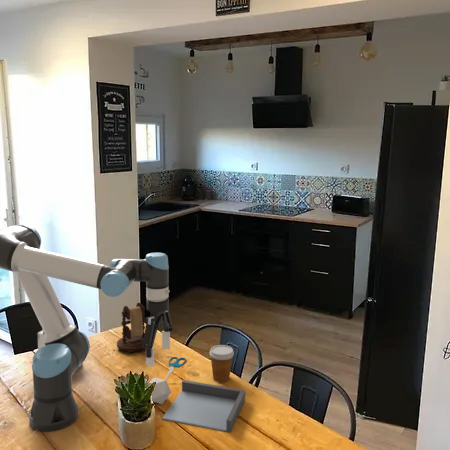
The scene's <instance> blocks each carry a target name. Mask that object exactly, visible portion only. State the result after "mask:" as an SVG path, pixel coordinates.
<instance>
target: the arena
mask: <svg viewBox="0 0 450 450" xmlns="http://www.w3.org/2000/svg"><path fill="white" fill-rule="evenodd" d="M245 401H246V390H245V389H240V388H236V387H235V388H234V387H228V386H223V385H217V384H211V383H203V382H197V381H194V380H193V381H191V380H186V379H183V380H182V381H181V391H180V393H179V394H178V395H177V397H175V400H173V402H172V404H171V405H170V406H169V408H168V409H167V411H166V412H165V414H164V415H163V416H162V418H161V419H162V421H163V420H164V421H170V422H174V423H179V424H180V423H181V424H184V425H190V426H196V427H201V428H206V429H211V430H216V431H222V432H226V433H232V431H233V429H234V427H235V425H236V421H237V419H238V417H239V415H240V413H241V410H242V408H243V406H244V404H245Z"/></svg>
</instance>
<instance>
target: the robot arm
mask: <svg viewBox="0 0 450 450" xmlns="http://www.w3.org/2000/svg"><path fill="white" fill-rule="evenodd" d="M41 244H42V238H41V235H40V233H39V232H38V230H36V228H34V227H32V226H31V225H29V224H25V223H22V224H20V223H19V224H14V225H10V226H8V227H5V228H2V229H0V269H2V270H4V271H8V272H9V271H10V272H13V273H15V274H16V276H17V278H18V280H19V283H20V284H21V286H22V288H23V291H24V293H25V294H26V297H27V299H28V302H29V304H30V305H31V307H32V309H33V311H34V313H35V316H36V318H37V320H38V322H39V324H40V326H41V329H42V330H44V333H45V335H46V336H45V339H44V344H45V346H46V347H42V348H40V349H39V350H38V349H37V350H36V351H35V353H34V354H33V357H32V362H31V369H32V380H33V402H32V405H31V408H30V412H29V425H30V427H31V428H32V429H34V430H37V431H38V432H39V431H40V432H54V431H58V430H62V429H65V428H67V427H69V426H70V425H72V424H74V422H76V421H77V420H78V417H79V406H78V404H77V401H76V399H75V396H74V394H73V382H72V381H73V379H72V378H73V375H74V373H75V372H76V371H77V370H78V369H79V368H78V367H79V366H80V365H81V363H83V364H84V362H85V360H86V359H87V356H88V355H89V352H90V347H91V346H90V341H89V338H88V336H87V334H85V333H84V332H82V331H81V330H79V329H78V328H77V325H76V324H73V323H70V320H69V319H68V317H67V315H66V313H65V311H64V308H63V306H62V305H61V303H60V300H59V298H58V295H57V294H56V292H55V290H54V288H53V286H52V283H51V281H50V279H49V278H53V279H57V280H61V281H66V282H69V283H73V284H77V285H81V286H86V287H90V288H94V289H98V290H101V291H102V292H103V293H104V294H105V295H106V296H108V297H110V298H111V297H112V298H115V297H118V296H120V295H122V294H123V293H125V292H126V291H127V290H128V287H129V286H130V285H131V284H132V283H133V282H145V284H146V285H145V286H146V287H145V290H146V291H145V292H146V294H145V296H146V297H145V298H146V310H147V312H149V313H150V317H145V329H144V330H145V331H144V339H143V345H142V348H145V349H144V350H145V366H147V367H148V366H149V367H155V347H154V344H155V340H156V336H157V332H158V330H159V329H160V328H161V329H162V331H161V348H162V349H164V350H171V332H173V329H174V328H173V321H172V317H171V315H170V314H171V313H170V298H169V297H170V296H169V293H170V289H169V269H170V267H169V258H168V257H169V256H168V255H167V254H166V253H163V252H150V253H147V254H146V255H145V258H144V259H142V258H139V259H138V258H123V257H122V258H113V259H112V260H111V261H110V263H109V265H106V264H102V263H101V264H100V263H98V262H93V261H89V260H84V259H81V258H77V257H73V256H68V255H65V254H64V255H63V254H60V253H56V252H52V251H48V250H43V249H40V248H41ZM160 326H161V327H160Z"/></svg>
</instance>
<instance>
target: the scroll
mask: <svg viewBox="0 0 450 450" xmlns="http://www.w3.org/2000/svg"><path fill="white" fill-rule="evenodd" d="M145 309H146V307H145V306H144V305H143V304H142V303H141V302H137V303H136V306H135V307H131V308H129V307H128V306H127V305H124V306H123V308H122V311H121V317H122V320H121V323H120V324H121V326H122V332H121V335H122V337H121V338H119V339H118V340H117V342H116V347H117V348H118V349H119V350H121V351H126V352H128V353H129V354H132V352H139V351H142V350H146V349H145V348H142V345H143V339H144V333H145V327H146V323H145V321H146V316H145ZM126 319H127V320H126ZM129 324H130V327H129V326H128V325H129Z"/></svg>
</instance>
